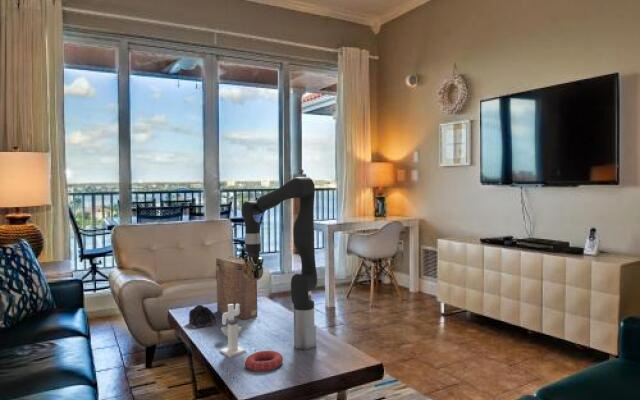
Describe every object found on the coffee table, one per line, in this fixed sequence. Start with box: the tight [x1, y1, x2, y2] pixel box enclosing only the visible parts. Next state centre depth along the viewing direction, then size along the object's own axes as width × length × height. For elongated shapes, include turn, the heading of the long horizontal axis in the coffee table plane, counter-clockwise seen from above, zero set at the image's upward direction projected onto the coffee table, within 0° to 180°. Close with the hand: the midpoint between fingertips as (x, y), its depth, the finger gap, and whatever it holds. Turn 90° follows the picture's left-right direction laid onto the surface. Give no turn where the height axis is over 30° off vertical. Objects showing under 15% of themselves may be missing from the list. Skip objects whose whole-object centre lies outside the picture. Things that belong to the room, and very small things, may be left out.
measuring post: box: [219, 318, 247, 358], centre depth 202 cm, size 8×8×14 cm
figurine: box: [220, 304, 243, 337], centre depth 223 cm, size 7×9×15 cm
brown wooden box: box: [215, 256, 258, 321], centre depth 258 cm, size 25×9×30 cm, turn 45°
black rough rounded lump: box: [188, 304, 216, 329], centre depth 241 cm, size 14×14×10 cm
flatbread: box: [243, 261, 264, 282], centre depth 225 cm, size 10×4×10 cm, turn 129°
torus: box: [244, 350, 284, 372], centre depth 189 cm, size 16×14×4 cm
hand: (253, 277), depth 225 cm, fingers closed on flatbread, 3 cm apart
